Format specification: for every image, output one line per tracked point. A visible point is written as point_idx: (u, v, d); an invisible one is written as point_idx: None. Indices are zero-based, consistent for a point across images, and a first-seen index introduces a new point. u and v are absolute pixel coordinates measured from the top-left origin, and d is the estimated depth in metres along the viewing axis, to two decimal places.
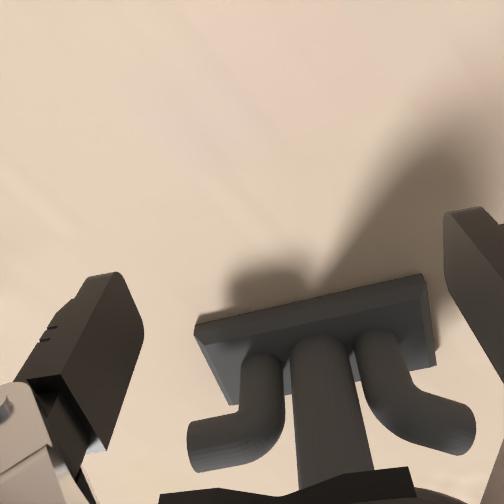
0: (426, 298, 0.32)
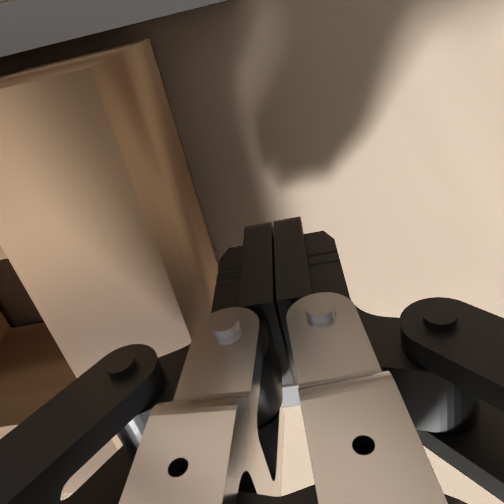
0: None
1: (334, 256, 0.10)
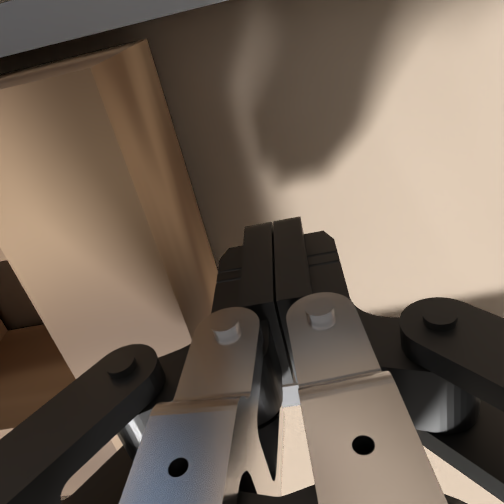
0: None
1: (334, 256, 0.10)
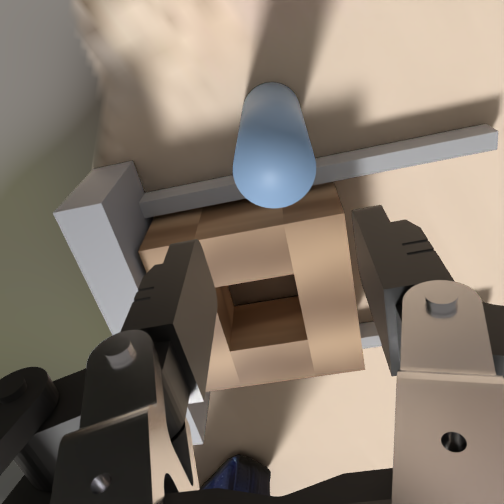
0: None
1: (426, 245, 0.10)
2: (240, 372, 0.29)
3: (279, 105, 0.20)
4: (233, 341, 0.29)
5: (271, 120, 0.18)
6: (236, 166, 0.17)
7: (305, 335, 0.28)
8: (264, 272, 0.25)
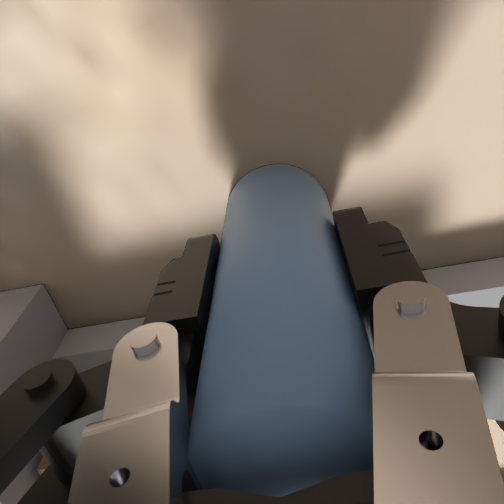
0: None
1: (403, 246, 0.10)
2: None
3: (299, 256, 0.09)
4: None
5: (285, 345, 0.07)
6: None
7: None
8: None
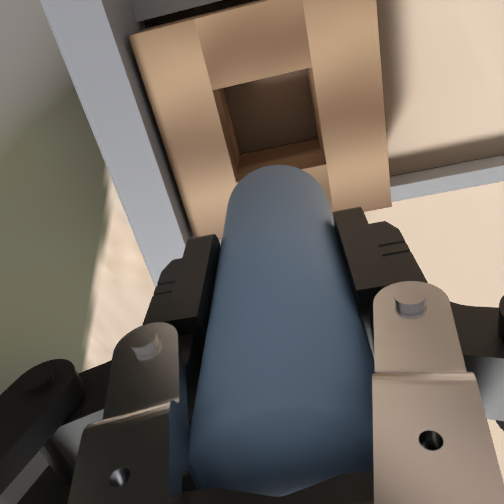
0: None
1: (403, 246, 0.10)
2: None
3: (299, 257, 0.09)
4: (240, 175, 0.25)
5: (285, 347, 0.07)
6: None
7: (323, 162, 0.24)
8: (277, 65, 0.21)
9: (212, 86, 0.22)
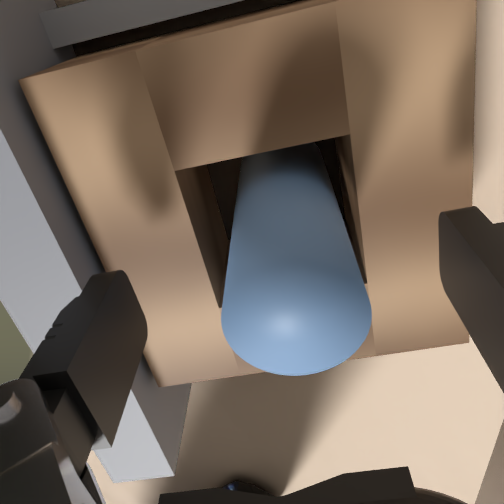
0: None
1: None
2: None
3: (299, 184, 0.12)
4: None
5: (290, 230, 0.10)
6: (227, 315, 0.10)
7: None
8: (288, 131, 0.12)
9: (174, 164, 0.12)
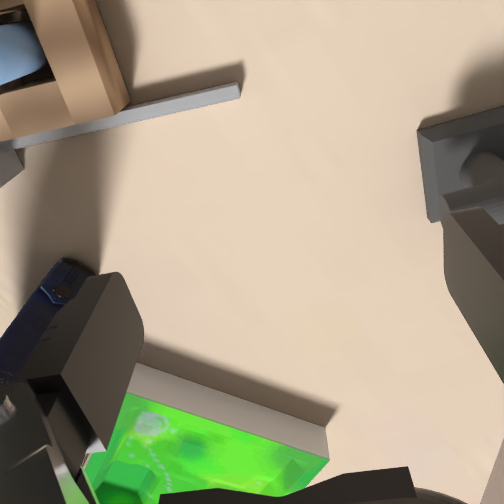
0: None
1: None
2: (9, 121, 0.33)
3: (6, 25, 0.29)
4: (1, 92, 0.33)
5: None
6: None
7: (56, 80, 0.32)
8: None
9: None
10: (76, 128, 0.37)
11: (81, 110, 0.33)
